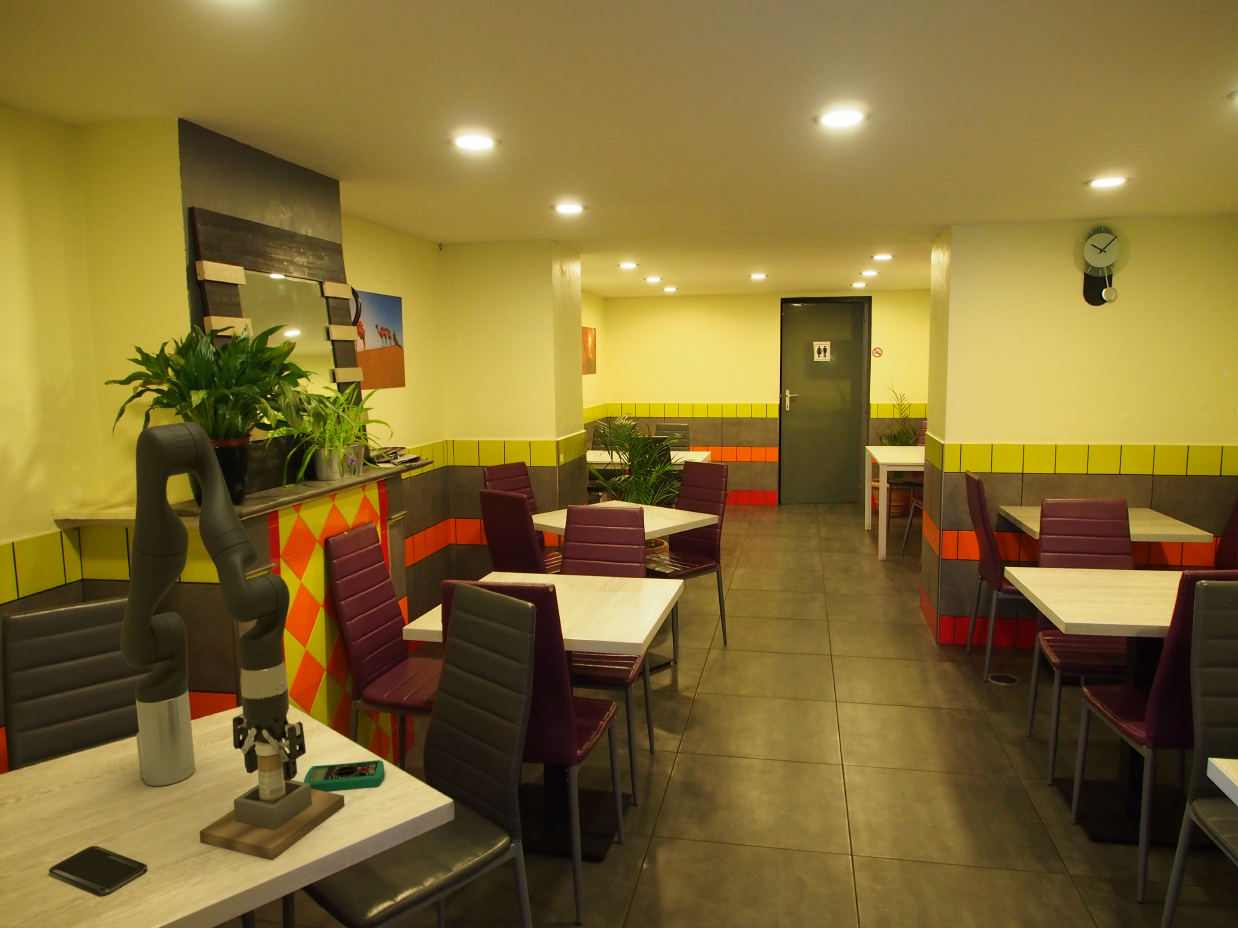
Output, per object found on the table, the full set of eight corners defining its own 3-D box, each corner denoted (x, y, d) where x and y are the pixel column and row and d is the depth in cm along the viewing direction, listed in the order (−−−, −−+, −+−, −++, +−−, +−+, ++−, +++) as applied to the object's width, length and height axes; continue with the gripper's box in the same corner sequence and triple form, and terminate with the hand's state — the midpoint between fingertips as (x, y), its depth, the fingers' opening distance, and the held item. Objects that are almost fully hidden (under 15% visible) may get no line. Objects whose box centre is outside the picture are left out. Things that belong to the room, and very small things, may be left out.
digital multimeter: (382, 788, 161) (381, 774, 160) (302, 796, 158) (301, 782, 158) (386, 770, 168) (385, 757, 168) (310, 778, 166) (309, 764, 165)
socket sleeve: (235, 821, 146) (233, 799, 145) (273, 795, 154) (271, 775, 154) (275, 830, 142) (273, 808, 142) (311, 804, 151) (310, 783, 150)
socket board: (200, 841, 143) (199, 829, 143) (277, 791, 160) (276, 780, 159) (272, 859, 137) (271, 847, 137) (344, 805, 154) (343, 794, 154)
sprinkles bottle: (286, 801, 151) (282, 732, 150) (288, 814, 147) (284, 742, 146) (259, 807, 149) (254, 737, 148) (260, 820, 145) (255, 747, 144)
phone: (102, 893, 128) (45, 869, 135) (103, 900, 128) (46, 875, 135) (150, 865, 135) (94, 843, 142) (151, 871, 136) (94, 849, 142)
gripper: (216, 691, 145) (224, 778, 147) (280, 701, 139) (287, 791, 141) (249, 675, 152) (256, 759, 153) (311, 685, 146) (317, 771, 148)
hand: (271, 774), depth 147 cm, fingers open, 8 cm apart
